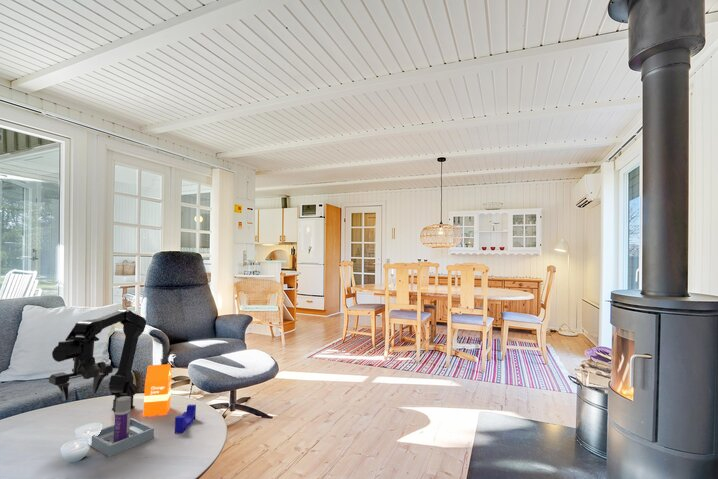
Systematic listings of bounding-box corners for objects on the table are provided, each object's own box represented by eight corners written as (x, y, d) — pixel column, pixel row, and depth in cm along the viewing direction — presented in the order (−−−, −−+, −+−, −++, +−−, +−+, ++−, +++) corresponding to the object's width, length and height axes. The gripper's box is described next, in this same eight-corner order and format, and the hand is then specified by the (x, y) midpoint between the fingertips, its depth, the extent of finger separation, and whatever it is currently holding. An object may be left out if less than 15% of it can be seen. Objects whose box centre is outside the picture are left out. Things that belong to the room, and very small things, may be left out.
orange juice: (147, 409, 156) (150, 362, 157) (170, 407, 159) (172, 361, 160) (142, 417, 149) (145, 368, 150) (166, 415, 152) (168, 366, 152)
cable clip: (184, 419, 148) (184, 404, 149) (195, 419, 149) (195, 404, 149) (170, 433, 136) (171, 417, 137) (182, 433, 137) (183, 417, 137)
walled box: (131, 427, 140) (132, 418, 140) (153, 437, 133) (154, 428, 133) (87, 444, 127) (87, 433, 127) (109, 456, 120) (109, 446, 120)
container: (111, 444, 127) (113, 401, 128) (116, 438, 132) (118, 396, 132) (126, 443, 129) (128, 400, 129) (130, 436, 133) (132, 395, 134)
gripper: (64, 363, 125) (60, 410, 123) (121, 353, 141) (118, 393, 140) (50, 358, 130) (46, 403, 129) (106, 349, 146) (104, 388, 145)
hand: (80, 396), depth 136 cm, fingers open, 9 cm apart
